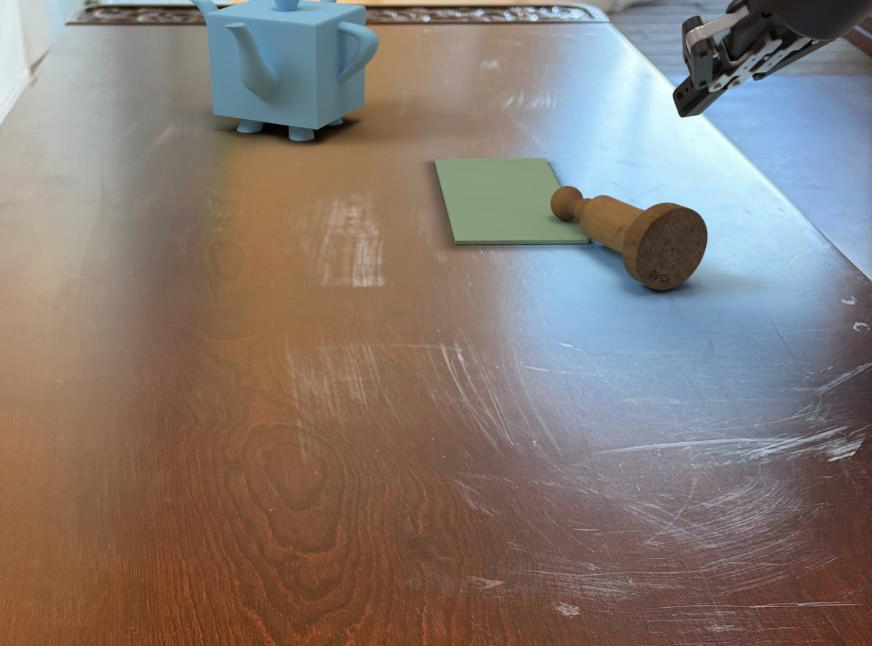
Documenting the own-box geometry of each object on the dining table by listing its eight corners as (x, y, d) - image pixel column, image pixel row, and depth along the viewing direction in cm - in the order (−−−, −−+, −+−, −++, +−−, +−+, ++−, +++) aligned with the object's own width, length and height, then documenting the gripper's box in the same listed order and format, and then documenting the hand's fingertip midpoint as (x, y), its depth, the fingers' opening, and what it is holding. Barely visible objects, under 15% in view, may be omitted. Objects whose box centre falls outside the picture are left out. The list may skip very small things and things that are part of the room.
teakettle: (387, 140, 120) (391, -3, 111) (228, 155, 115) (219, 8, 106) (337, 99, 134) (338, -29, 125) (194, 111, 130) (184, -21, 121)
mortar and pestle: (720, 249, 85) (601, 199, 99) (688, 190, 81) (569, 147, 95) (658, 306, 85) (549, 248, 100) (623, 251, 82) (515, 199, 96)
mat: (544, 161, 113) (545, 157, 113) (588, 243, 94) (589, 239, 93) (434, 162, 113) (434, 158, 113) (455, 244, 94) (455, 240, 93)
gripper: (921, -127, 63) (735, 50, 80) (754, -116, 59) (593, 69, 75) (965, -16, 63) (768, 140, 79) (799, 4, 58) (627, 164, 75)
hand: (683, 105), depth 77 cm, fingers closed
